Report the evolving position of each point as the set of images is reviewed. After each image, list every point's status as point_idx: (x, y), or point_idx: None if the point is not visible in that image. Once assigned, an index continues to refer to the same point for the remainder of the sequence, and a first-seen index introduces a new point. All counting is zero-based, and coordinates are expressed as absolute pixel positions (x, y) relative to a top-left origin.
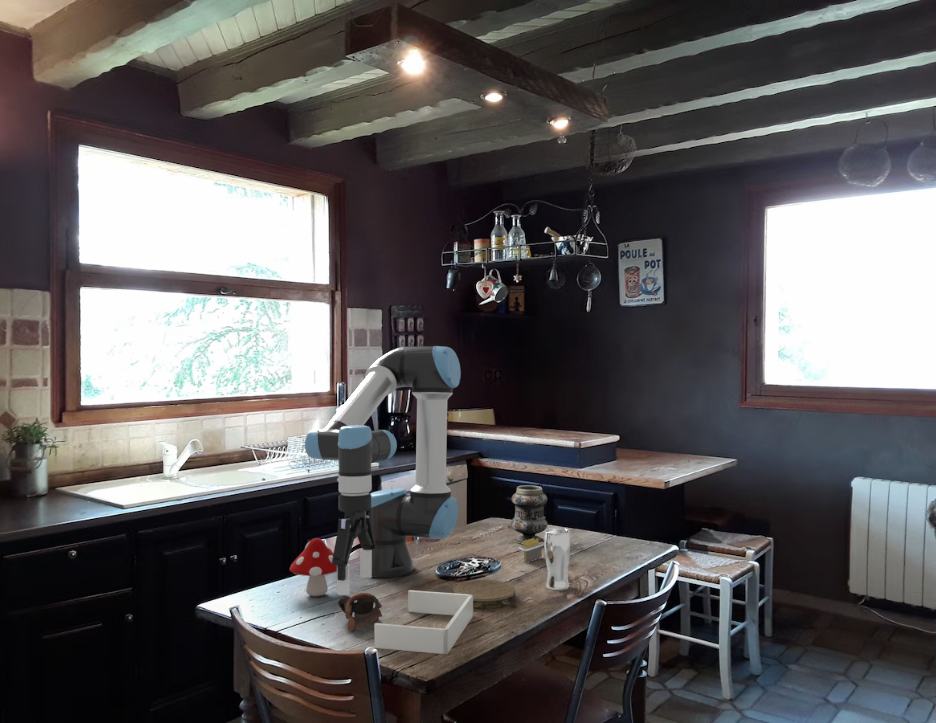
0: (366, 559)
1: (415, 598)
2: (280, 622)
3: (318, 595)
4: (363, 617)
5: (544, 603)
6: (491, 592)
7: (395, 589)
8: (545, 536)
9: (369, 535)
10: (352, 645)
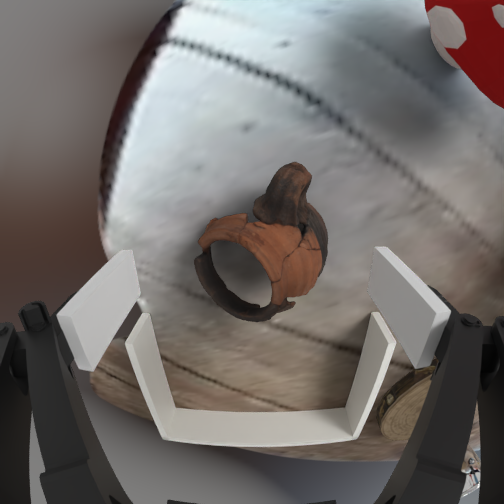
0: (402, 318)
1: (377, 348)
2: (229, 14)
3: (437, 50)
4: (201, 283)
5: (394, 447)
6: (412, 422)
7: (499, 231)
8: (473, 480)
9: (487, 402)
10: (135, 265)
